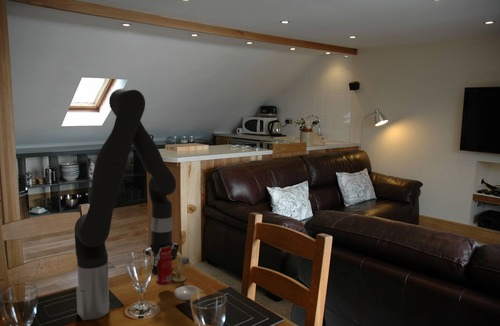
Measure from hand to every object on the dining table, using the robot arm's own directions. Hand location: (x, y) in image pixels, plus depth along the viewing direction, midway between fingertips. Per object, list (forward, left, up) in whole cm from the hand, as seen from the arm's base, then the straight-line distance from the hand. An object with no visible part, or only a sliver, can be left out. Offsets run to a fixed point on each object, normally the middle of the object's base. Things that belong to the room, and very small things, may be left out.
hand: (161, 272), depth 146 cm
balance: (+10, +5, -7) cm, 13 cm away
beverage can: (+1, 0, -4) cm, 5 cm away
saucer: (+6, -8, -7) cm, 12 cm away
